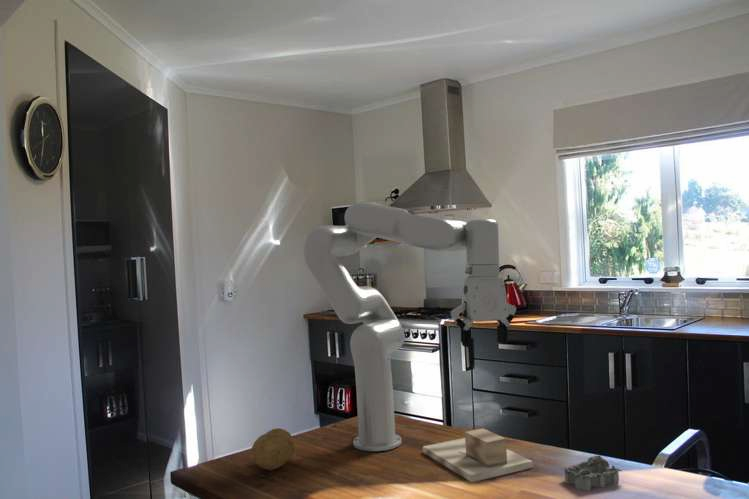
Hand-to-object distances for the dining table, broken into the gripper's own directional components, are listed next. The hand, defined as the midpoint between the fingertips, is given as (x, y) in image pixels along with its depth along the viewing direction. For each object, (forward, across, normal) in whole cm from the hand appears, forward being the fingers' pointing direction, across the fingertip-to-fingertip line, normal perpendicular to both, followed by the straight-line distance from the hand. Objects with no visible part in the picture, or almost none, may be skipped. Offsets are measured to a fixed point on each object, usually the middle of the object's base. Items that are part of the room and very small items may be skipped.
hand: (484, 344), depth 139 cm
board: (+27, -3, +1) cm, 27 cm away
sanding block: (+25, -3, -4) cm, 26 cm away
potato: (+29, -47, +20) cm, 58 cm away
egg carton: (+26, +11, -22) cm, 36 cm away
